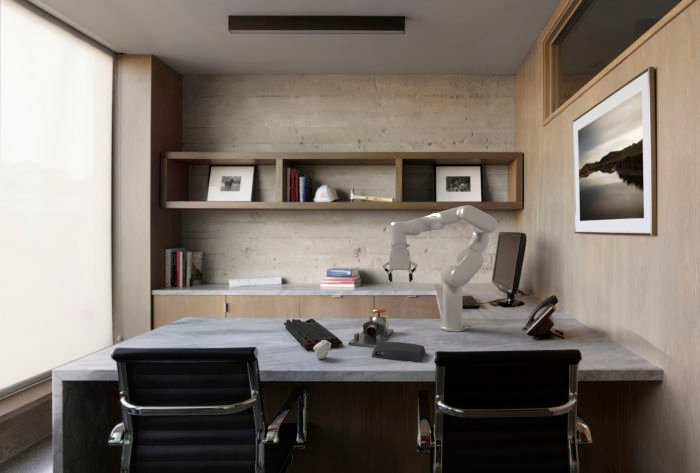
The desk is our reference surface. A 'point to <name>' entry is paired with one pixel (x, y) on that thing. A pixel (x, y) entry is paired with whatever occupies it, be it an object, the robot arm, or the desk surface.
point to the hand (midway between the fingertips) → (400, 281)
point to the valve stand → (381, 333)
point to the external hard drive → (399, 351)
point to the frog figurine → (322, 349)
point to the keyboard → (310, 333)
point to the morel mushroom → (370, 328)
